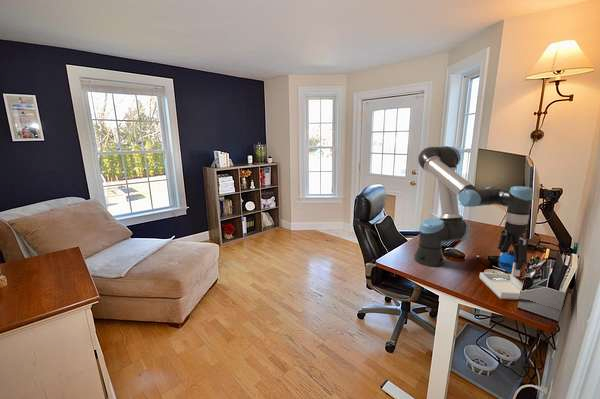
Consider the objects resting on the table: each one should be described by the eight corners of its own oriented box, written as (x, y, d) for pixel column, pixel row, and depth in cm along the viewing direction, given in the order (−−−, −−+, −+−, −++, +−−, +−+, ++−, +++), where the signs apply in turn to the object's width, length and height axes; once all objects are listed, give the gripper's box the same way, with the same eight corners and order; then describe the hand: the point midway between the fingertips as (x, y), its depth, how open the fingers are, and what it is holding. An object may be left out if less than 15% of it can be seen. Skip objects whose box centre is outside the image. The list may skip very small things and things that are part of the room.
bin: (500, 298, 112) (501, 292, 112) (479, 277, 129) (480, 272, 129) (535, 301, 110) (537, 294, 110) (509, 279, 127) (510, 274, 127)
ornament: (492, 268, 121) (495, 248, 118) (505, 265, 123) (508, 245, 121) (512, 277, 113) (515, 255, 111) (525, 274, 115) (529, 252, 113)
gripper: (544, 230, 102) (535, 283, 107) (510, 215, 123) (503, 260, 128) (523, 230, 103) (514, 282, 108) (492, 215, 124) (486, 260, 129)
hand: (508, 270), depth 118 cm, fingers closed on ornament, 9 cm apart
